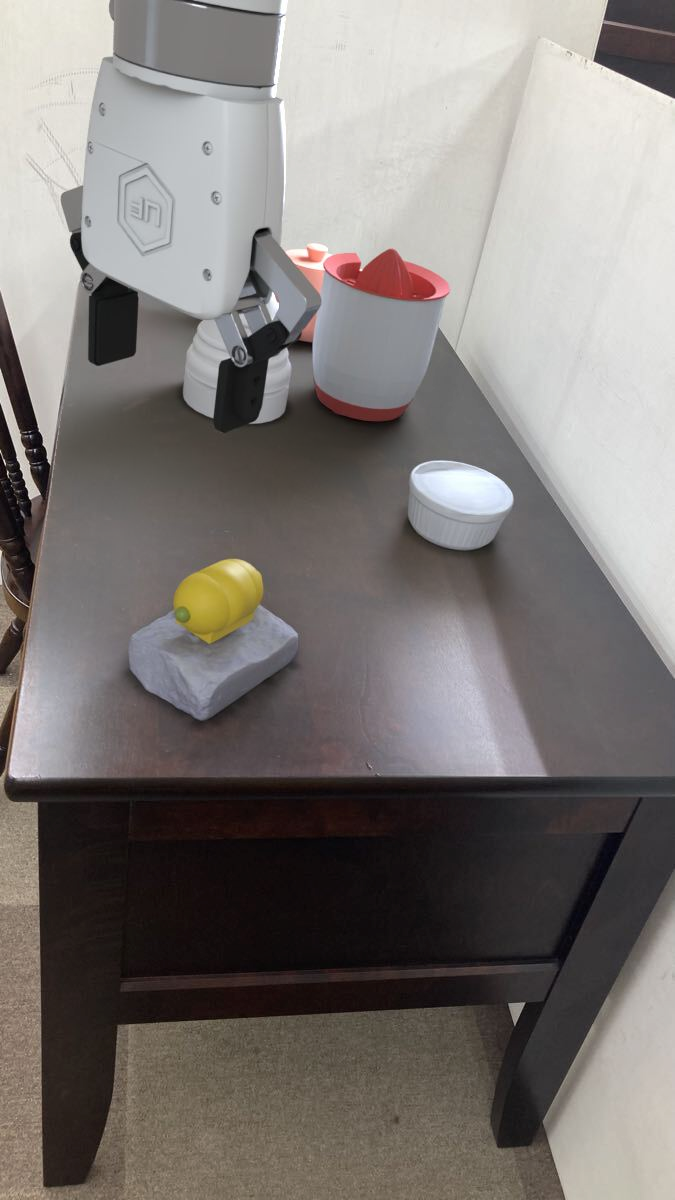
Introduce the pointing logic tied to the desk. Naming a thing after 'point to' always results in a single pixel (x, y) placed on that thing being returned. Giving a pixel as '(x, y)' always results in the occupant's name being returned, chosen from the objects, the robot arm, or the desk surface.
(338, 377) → the citrus juicer
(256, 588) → the lemon
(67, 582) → the desk surface
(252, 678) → the stone block
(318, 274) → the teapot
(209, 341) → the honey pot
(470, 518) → the ramekin
